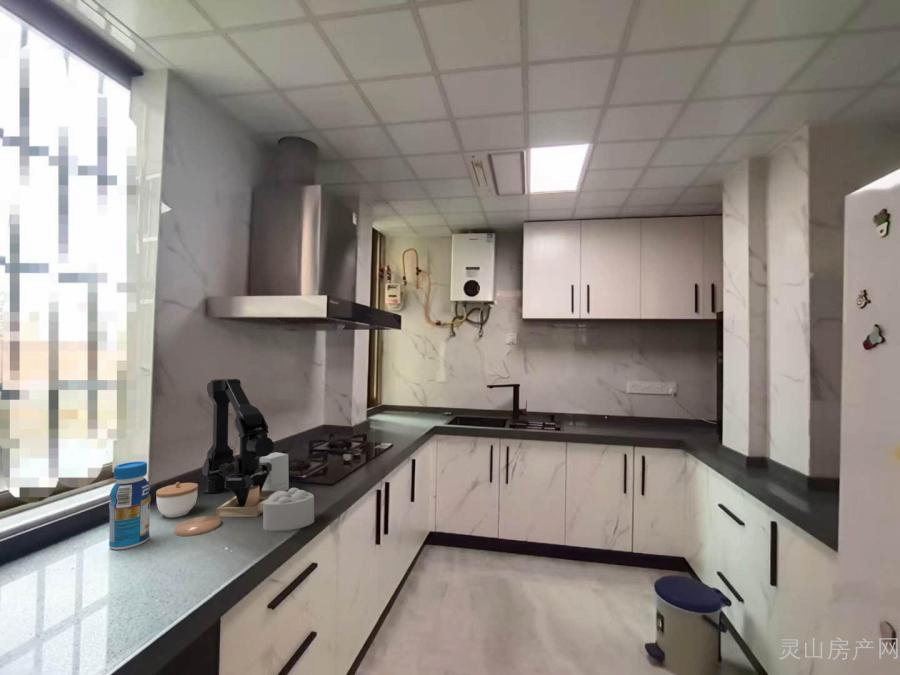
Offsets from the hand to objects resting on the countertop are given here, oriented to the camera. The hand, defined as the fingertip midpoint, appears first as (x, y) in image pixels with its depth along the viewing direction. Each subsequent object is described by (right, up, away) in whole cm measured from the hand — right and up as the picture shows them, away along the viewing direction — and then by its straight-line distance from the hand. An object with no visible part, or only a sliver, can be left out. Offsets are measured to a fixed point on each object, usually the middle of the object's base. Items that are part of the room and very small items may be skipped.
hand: (249, 501), depth 128 cm
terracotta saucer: (-7, -1, -15) cm, 17 cm away
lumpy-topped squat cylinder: (+18, -1, -13) cm, 22 cm away
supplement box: (+1, -2, +15) cm, 15 cm away
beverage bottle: (-19, -1, -24) cm, 31 cm away
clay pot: (0, -2, 0) cm, 2 cm away
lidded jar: (-20, -2, -5) cm, 21 cm away
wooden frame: (0, -2, 0) cm, 2 cm away
